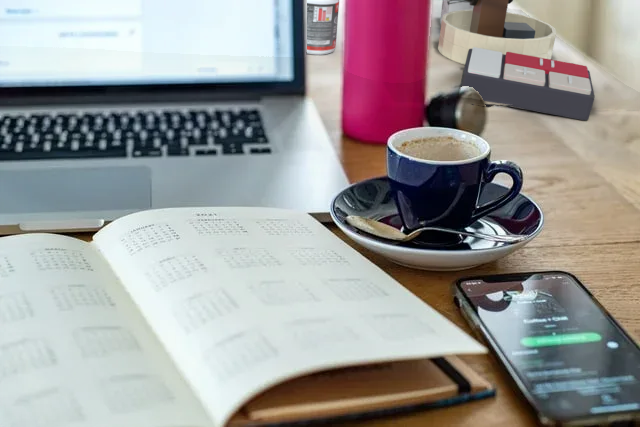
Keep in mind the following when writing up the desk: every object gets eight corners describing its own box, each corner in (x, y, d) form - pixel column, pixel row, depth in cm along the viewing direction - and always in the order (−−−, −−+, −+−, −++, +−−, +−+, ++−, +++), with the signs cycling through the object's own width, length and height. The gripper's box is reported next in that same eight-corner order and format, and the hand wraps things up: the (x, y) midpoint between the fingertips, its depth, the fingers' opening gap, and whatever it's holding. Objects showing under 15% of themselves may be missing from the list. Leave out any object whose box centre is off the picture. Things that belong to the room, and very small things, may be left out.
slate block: (521, 51, 122) (526, 22, 120) (530, 60, 118) (535, 30, 116) (493, 50, 121) (497, 21, 119) (501, 58, 118) (506, 29, 116)
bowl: (528, 46, 127) (534, 12, 125) (564, 79, 114) (572, 42, 112) (427, 42, 125) (431, 7, 123) (452, 75, 112) (457, 36, 110)
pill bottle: (341, 54, 117) (348, -21, 112) (301, 56, 115) (307, -21, 110) (325, 42, 121) (331, -31, 117) (286, 44, 119) (291, -31, 115)
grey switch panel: (597, 91, 99) (464, 66, 101) (587, 126, 101) (456, 101, 103) (591, 63, 108) (470, 41, 110) (582, 96, 110) (463, 74, 112)
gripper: (587, -103, 104) (534, -21, 120) (470, -111, 102) (433, -27, 118) (594, -48, 101) (539, 28, 118) (475, -56, 100) (436, 22, 116)
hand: (486, 0), depth 118 cm, fingers closed on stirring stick, 3 cm apart
